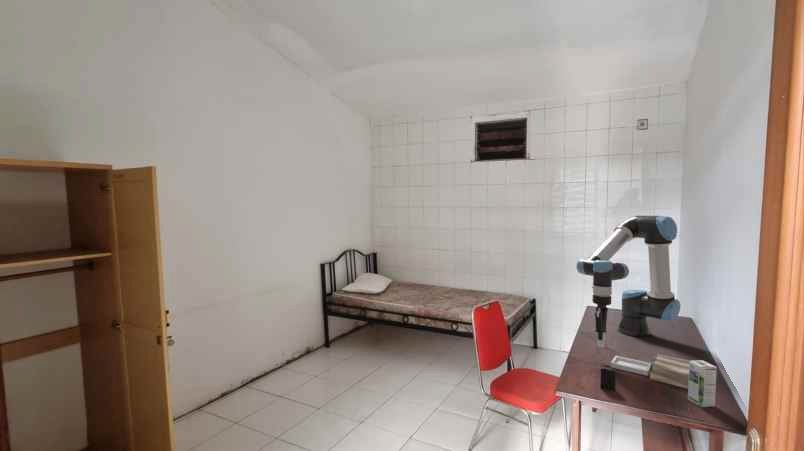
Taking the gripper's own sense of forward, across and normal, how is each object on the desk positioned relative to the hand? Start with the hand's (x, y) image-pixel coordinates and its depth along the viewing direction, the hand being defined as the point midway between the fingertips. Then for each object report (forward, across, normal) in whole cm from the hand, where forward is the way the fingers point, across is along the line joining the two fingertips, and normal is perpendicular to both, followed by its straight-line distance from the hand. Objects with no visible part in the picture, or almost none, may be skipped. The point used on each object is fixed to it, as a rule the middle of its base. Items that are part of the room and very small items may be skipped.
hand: (600, 346), depth 175 cm
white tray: (+7, 0, +12) cm, 14 cm away
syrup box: (+7, +18, +37) cm, 42 cm away
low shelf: (+6, 0, +27) cm, 28 cm away
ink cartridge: (+7, +27, +9) cm, 29 cm away
